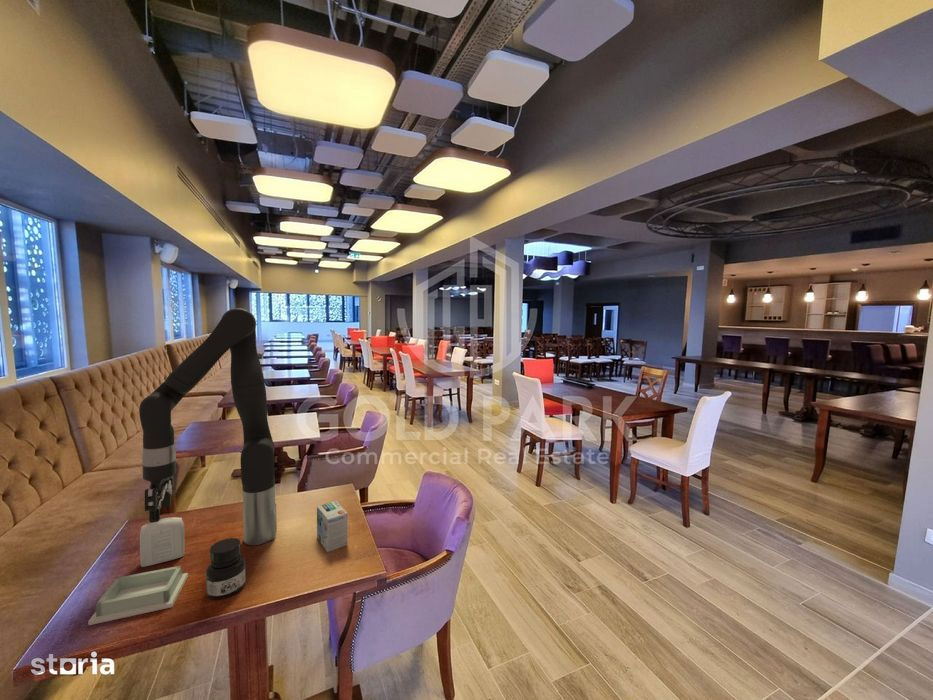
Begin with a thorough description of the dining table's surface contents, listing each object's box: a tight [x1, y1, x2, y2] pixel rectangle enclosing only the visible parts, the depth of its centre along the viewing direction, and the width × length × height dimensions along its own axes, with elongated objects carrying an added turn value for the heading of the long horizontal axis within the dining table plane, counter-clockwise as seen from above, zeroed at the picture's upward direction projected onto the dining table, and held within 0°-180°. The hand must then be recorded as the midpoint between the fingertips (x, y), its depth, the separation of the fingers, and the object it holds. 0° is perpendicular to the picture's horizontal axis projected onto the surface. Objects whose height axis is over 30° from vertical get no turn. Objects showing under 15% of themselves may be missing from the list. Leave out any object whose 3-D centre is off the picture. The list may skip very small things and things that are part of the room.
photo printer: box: [139, 517, 185, 568], centre depth 110 cm, size 10×4×12 cm, turn 123°
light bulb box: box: [316, 500, 348, 553], centre depth 121 cm, size 11×7×11 cm, turn 39°
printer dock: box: [87, 565, 189, 626], centre depth 95 cm, size 16×12×4 cm
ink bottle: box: [205, 537, 247, 600], centre depth 99 cm, size 10×9×12 cm
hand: (160, 514), depth 109 cm, fingers open, 8 cm apart
